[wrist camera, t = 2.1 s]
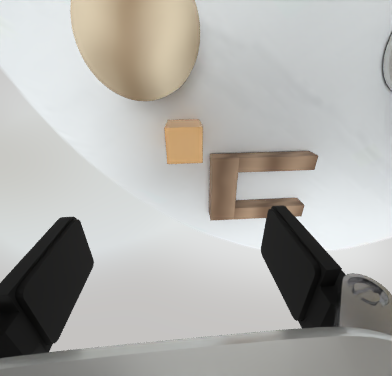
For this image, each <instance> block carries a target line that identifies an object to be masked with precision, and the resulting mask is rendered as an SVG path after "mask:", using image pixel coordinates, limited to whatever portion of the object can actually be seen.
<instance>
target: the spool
mask: <svg viewBox="0 0 392 376" xmlns="http://www.w3.org/2000/svg"><path fill="white" fill-rule="evenodd" d="M70 12H71V24H72V29H73V34H74V37H75V41H76V44H77V46H78V49H79V51H80V54H81V55H82V57H83V59H84V61H85V63H86V64H87V66H88V67H89V69H90V70H91V71H92V73H93V74H94V75H95V76H96V78H97V79H98V80H99V81H101V82H102V83H103V84H104V85H105V86H106V87H107V88H109V89H110V90H112V91H113V92H115V93H117V94H119V95H121V96H123V97H125V98H128V99H132V100H137V101H153V100H157V99H161V98H163V97H166V96H168V95H169V94H171V93H173V92H174V91H176V90H177V89H178V88H180V87H181V86H182V85H183V84H184V82H185V81H186V79H187V78H188V76H189V74H190V72H191V71H192V69H193V66H194V64H195V61H196V58H197V54H198V50H199V43H200V22H199V16H198V11H197V7H196V3H195V0H71V11H70Z"/></svg>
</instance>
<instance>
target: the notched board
mask: <svg viewBox="0 0 392 376" xmlns="http://www.w3.org/2000/svg"><path fill="white" fill-rule="evenodd" d="M317 158H318V155H316V154H314V153H312V152H310V151H290V152H258V153H226V154H210V188H209V215H210V219H211V220H229V219H250V218H267V213H268V210H269V209H271V207H272V206H280V205H284V206H286V207H287V209H288V210H289V211H290V212H291V213H292V214H293V215H294V216H301V215H302V212H303V208H304V204H303V203H302V202H301V201H300V200H299V199H297V198H282V199H258V200H236V189H237V178H238V172H265V171H293V170H314V169H315V166H316V162H317Z"/></svg>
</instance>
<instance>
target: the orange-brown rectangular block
mask: <svg viewBox="0 0 392 376" xmlns="http://www.w3.org/2000/svg"><path fill="white" fill-rule="evenodd" d="M164 129H165V141H166V153H167V164H184V163H203V127H202V125H201V123H200V120H199V119H188V120H168V121H167V123H166V125H165V128H164Z"/></svg>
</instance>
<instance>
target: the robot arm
mask: <svg viewBox="0 0 392 376" xmlns="http://www.w3.org/2000/svg"><path fill="white" fill-rule="evenodd" d="M383 71H384V78H385V81H386V83H387V85H388V87H389V88H390V89H391V90H392V35H391V37H390V40H389V42H388V45H387V47H386V52H385V56H384V64H383ZM261 253H262V256H263V258H264V260H265V262H266V264H267V266H268V268H269V270H270V272H271V274H272V276H273V278H274V280H275V282H276V284H277V286H278V288H279V290H280V292H281V294H282V296H283V298H284V300H285V302H286V304H287V306H288V308H289V310H290V312H291V314H292V316H293V318H294V319H295V320H296V321H297V320H298V321H299V323H300V325H301V327H302V329H288V330H276V331H264V332H253V333H243V334H231V335H219V336H209V337H198V338H188V339H178V340H167V341H157V342H146V343H137V344H125V345H116V346H106V347H96V348H86V349H77V350H67V351H57V352H49V350H50V348H51V346H52V344H53V343H55V342H57V340H58V339H59V337H60V335H61V333H62V331H63V328H64V326H65V324H66V322H67V320H68V318H69V316H70V314H71V311H72V309H73V307H74V305H75V303H76V301H77V299H78V297H79V295H80V293H81V291H82V289H83V287H84V285H85V282H86V280H87V278H88V276H89V274H90V272H91V270H92V268H93V263H94V261H93V257H92V254H91V251H90V249H89V246H88V243H87V240H86V237H85V234H84V231H83V228H82V225H81V222H80V221H79V220H77V219H76V218H75V217H62V218H59V219H58V220H57V221H56V222H55V224H54V225H53V226H52V227H51V228H50V229H49V230H48V231H47V232H46V233H45V235H44V236H43V237H42V238H41V239H40V240H39V241H38V242H37V243H36V244H35V246H34V247H33V248H32V249H31V250H30V251H29V252H28V253H27V254H26V256H24V258H23V259H22V260H21V261H20V262H19V263H18V264H17V265H16V266H15V267H14V269H13V270H12V271H11V272H10V273H9V274H8V275H7V276H6V277H5V279H3V281H2V282H1V283H0V376H392V295H391V294H390V292H389V291H388V290H387V289H386V288H385V287H384V286H382V285H381V284H380V283H378V282H377V281H375V280H373V279H371V278H369V277H367V276H363V275H360V274H354V273H352V274H347V275H345V274H344V272H343V271H342V270H341V269H342V268H341V267H340V266H339V265H338V264H337V263H336V262H335V261H334V260H333V258H332V257H331V256H330V255H329V254H328V253H327V252H326V251H325V250H324V248H323V247H322V246H321V245H320V244H319V243H318V242H317V241H316V240H315V238H314V237H313V236H312V235H311V234H310V233H309V232H308V231H307V230H306V228H305V227H304V226H303V225H302V224H301V223H300V222H299V221H298V220H297V218H296V217H295V216H294V215H293V214H292V213H291V212H290V211H289V210H288V209H287V207H286V206H284V205H280V206H272V207H271V209H269V210H268V213H267V218H266V224H265V229H264V235H263V240H262V246H261Z"/></svg>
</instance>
